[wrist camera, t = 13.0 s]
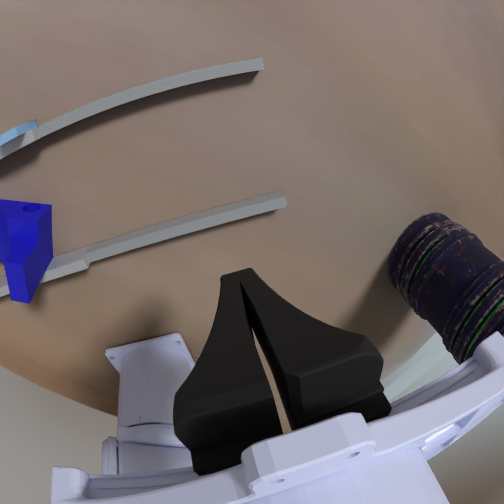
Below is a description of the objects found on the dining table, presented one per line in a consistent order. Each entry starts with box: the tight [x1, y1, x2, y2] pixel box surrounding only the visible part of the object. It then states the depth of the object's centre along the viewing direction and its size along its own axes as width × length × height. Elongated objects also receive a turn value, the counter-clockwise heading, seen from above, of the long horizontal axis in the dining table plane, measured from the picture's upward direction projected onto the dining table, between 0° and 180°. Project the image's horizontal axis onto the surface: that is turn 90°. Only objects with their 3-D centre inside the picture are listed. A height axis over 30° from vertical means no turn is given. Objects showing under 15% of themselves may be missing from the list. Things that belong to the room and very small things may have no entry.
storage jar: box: [388, 212, 504, 365], centre depth 24 cm, size 10×10×15 cm
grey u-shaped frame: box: [0, 58, 287, 297], centre depth 18 cm, size 11×30×2 cm, turn 100°
